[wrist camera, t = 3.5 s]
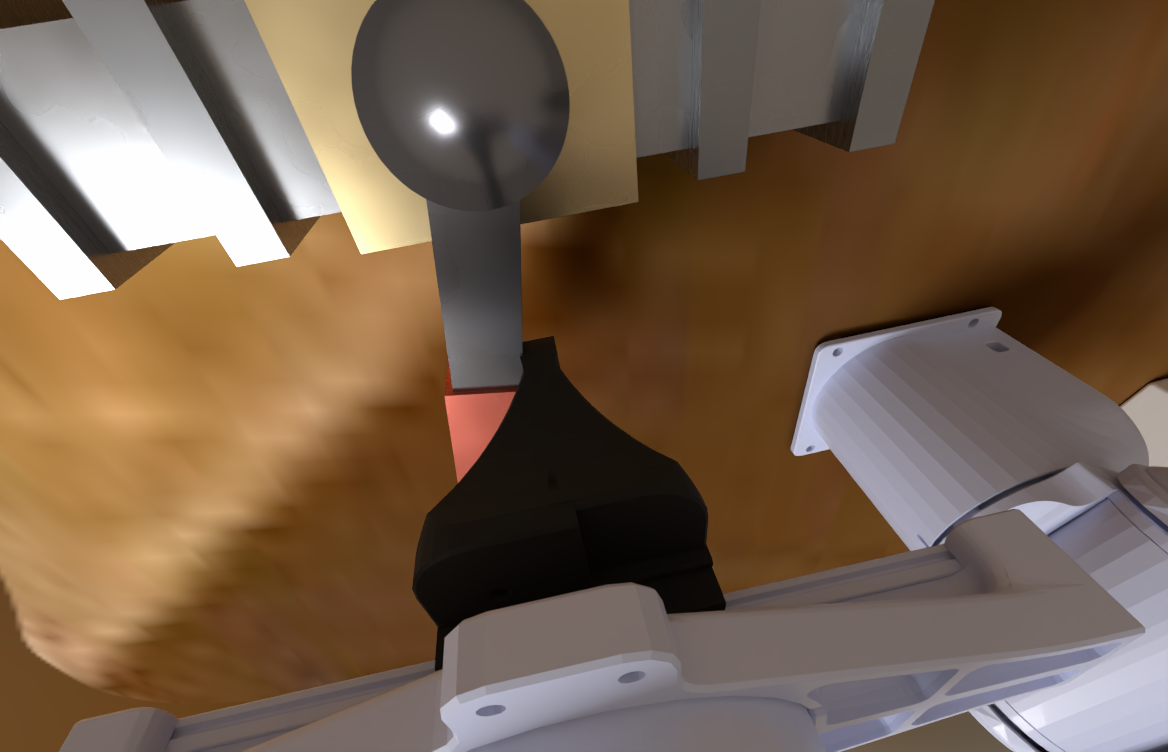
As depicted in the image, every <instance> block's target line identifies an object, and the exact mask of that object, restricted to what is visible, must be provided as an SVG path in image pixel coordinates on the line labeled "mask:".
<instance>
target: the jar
mask: <svg viewBox="0 0 1168 752" xmlns="http://www.w3.org/2000/svg"><path fill="white" fill-rule="evenodd" d="M1119 407H1120V408H1121V409H1123V410H1124V411H1125V412H1126V414H1127V415H1128V416H1129V417H1130V418H1131V419H1132V421H1133V422H1134V423H1135V425H1136V426H1137V428H1138V429H1139V431H1140V433H1141V435H1142V437H1143V438H1144V441H1145V443H1146V445H1147V449H1148V453H1149V466H1158V467H1168V378H1166V379H1162V380H1159V381H1155V382H1151V383H1149V384H1147V385H1146V386H1144V387H1143V388H1142V389H1141V390H1139V391H1138V392H1137V393H1135V394H1134V395H1133V396H1132V397H1130V398H1129V399H1128V400H1126V401H1125V402H1124V403H1123V404H1121V405H1120V406H1119Z"/></svg>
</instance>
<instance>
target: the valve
mask: <svg viewBox="0 0 1168 752" xmlns="http://www.w3.org/2000/svg"><path fill="white" fill-rule="evenodd" d="M375 1H376V0H0V238H1V239H2V241H3V242H4V243H5V244H6V245H7V246H8V247H9V248H10V249H11V250H12V251H13V252H14V253H15V254H16V255H17V256H18V257H19V258H20V259H21V260H22V261H23V262H24V263H25V264H26V265H27V266H28V267H29V268H30V269H31V270H32V271H33V272H34V273H35V275H36V276H37V277H38V278H39V279H40V280H41V281H42V282H43V283H44V284H45V285H46V286H47V287H48V288H49V289H50V290H51V291H52V292H53V293H54V294H55V295H56V296H57V297H58V298H59V299H60V300H61V299H67V298H72V297H77V296H83V295H88V294H93V293H99V292H104V291H109V290H115V289H116V288H118V287H119V286H120V285H121V284H123V283H124V282H125V281H127V280H128V279H129V278H130V277H132V276H133V275H134V274H136V273H137V272H138V271H139V270H141V269H142V268H143V267H145V266H146V265H147V264H148V263H150V262H151V261H152V260H153V259H155V258H156V257H157V256H159V255H160V254H161V253H162V252H164V251H165V250H166V249H168V248H169V247H170V246H171V245H173V244H174V243H175V242H179V241H184V240H190V239H195V238H200V237H206V236H211V235H216V236H217V237H218V239H219V240H220V242H221V243H222V245H223V246H224V248H225V250H226V251H227V253H228V254H229V256H230V257H231V259H232V260H233V262H234V263H235V265H236V266H237V267H238V266H243V265H248V264H254V263H259V262H264V261H270V260H275V259H280V258H286V257H290V256H291V254H292V253H293V252H294V250H295V249H296V248H297V246H298V245H299V244H300V242H301V241H302V240H303V238H304V237H305V236H306V234H307V233H308V232H309V230H310V229H311V228H312V226H313V225H314V224H315V222H316V221H317V220H318V218H319V217H320V216H321V215H326V214H332V213H337V212H342V213H343V216H344V218H345V220H346V222H347V224H348V227H349V229H350V231H351V233H352V235H353V237H354V240H355V242H356V244H357V246H358V248H359V250H360V253H361V254H365V253H370V252H376V251H381V250H386V249H392V248H397V247H402V246H407V245H413V244H418V243H423V242H429V241H432V238H431V231H430V223H429V216H428V209H427V202H426V199H425V198H423V197H421V196H420V195H418V194H417V193H415V192H413V191H412V190H411V189H409V188H408V187H407V186H405V185H404V184H403V183H402V182H400V181H399V180H398V179H397V178H396V177H395V176H394V175H393V174H392V173H391V172H390V171H389V170H388V168H387V167H386V166H385V165H384V164H383V162H382V161H381V160H380V158H379V157H378V155H377V154H376V152H375V151H374V149H373V148H372V146H371V144H370V143H369V141H368V139H367V137H366V135H365V133H364V130H363V128H362V125H361V123H360V120H359V118H358V114H357V110H356V107H355V103H354V97H353V91H352V79H351V65H352V55H353V49H354V45H355V41H356V37H357V33H358V31H359V28H360V26H361V23H362V21H363V19H364V17H365V15H366V14H367V12H368V10H369V9H370V7H371V5H372V4H373V3H374V2H375ZM524 1H525V2H526V3H527V4H528V5H529V6H530V7H531V8H532V9H533V10H534V12H535V13H536V14H537V15H538V16H539V18H540V19H541V20H542V22H543V23H544V25H545V26H546V28H547V29H548V31H549V32H550V34H551V36H552V38H553V40H554V42H555V44H556V46H557V48H558V50H559V53H560V56H561V59H562V61H563V64H564V68H565V72H566V76H567V81H568V88H569V99H570V113H569V123H568V129H567V134H566V138H565V142H564V145H563V148H562V150H561V153H560V155H559V157H558V159H557V161H556V163H555V165H554V167H553V168H552V170H551V171H550V173H549V174H548V176H547V177H546V178H545V179H544V180H543V181H542V183H541V184H540V185H539V186H538V187H537V188H535V189H534V190H533V191H532V192H531V193H530V194H528V195H527V196H525V197H524V198H522V199H521V200H520V224H524V223H529V222H535V221H540V220H545V219H551V218H556V217H561V216H567V215H572V214H577V213H583V212H588V211H593V210H598V209H604V208H609V207H614V206H620V205H625V204H630V203H636V202H638V183H637V162H636V158H638V157H643V156H649V155H654V154H660V153H664V154H666V155H667V156H668V157H669V158H671V159H672V160H673V161H674V162H676V163H677V164H678V165H679V166H681V167H682V168H683V169H684V170H686V171H687V172H688V173H689V174H690V175H692V176H693V177H694V178H695V179H697V180H702V179H708V178H713V177H718V176H724V175H729V174H734V173H740V172H745V166H746V156H747V145H748V137H753V136H758V135H764V134H769V133H775V132H780V131H786V130H791V129H793V130H795V131H798V132H800V133H803V134H805V135H808V136H810V137H813V138H815V139H818V140H820V141H823V142H825V143H828V144H830V145H833V146H835V147H838V148H840V149H843V150H845V151H848V152H852V151H857V150H863V149H868V148H873V147H879V146H884V145H889V144H895V140H896V137H897V133H898V130H899V126H900V123H901V119H902V115H903V112H904V108H905V105H906V101H907V98H908V94H909V91H910V87H911V83H912V80H913V76H914V73H915V69H916V66H917V62H918V59H919V55H920V51H921V48H922V44H923V41H924V37H925V34H926V30H927V27H928V23H929V19H930V16H931V12H932V9H933V5H934V2H935V0H524Z"/></svg>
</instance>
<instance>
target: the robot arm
mask: <svg viewBox="0 0 1168 752" xmlns="http://www.w3.org/2000/svg"><path fill="white" fill-rule="evenodd" d="M1001 315H1002V312H1001V311H1000V310H999V309H997V308H995V307H988V308H983V309H979V310H974V311H969V312H964V313H960V314H955V315H950V316H945V317H941V318H936V319H931V320H926V321H922V322H917V323H912V324H908V325H903V326H898V327H893V328H889V329H884V330H879V331H874V332H870V333H865V334H860V335H855V336H851V337H846V338H841V339H837V340H832V341H827V342H824V343H821V344H820V345H818V347H817V348H816V349H815V351H814V355H813V359H812V363H811V367H810V371H809V375H808V379H807V383H806V388H805V392H804V396H803V400H802V404H801V408H800V412H799V416H798V420H797V424H796V429H795V433H794V437H793V441H792V445H791V451H792V452H793V454H794V455H796V456H801V455H806V454H810V453H814V452H819V451H823V450H828V449H831V451H832V452H833V453H834V455H835V456H836V457H837V458H838V460H839V461H840V462H841V463H842V465H843V466H844V467H845V468H846V470H847V471H848V472H849V474H850V475H851V476H852V477H853V479H854V480H855V481H856V482H857V484H858V485H859V486H860V487H861V489H862V490H863V491H864V493H865V494H866V495H867V496H868V498H869V499H870V500H871V501H872V503H873V504H874V505H875V506H876V508H877V509H878V510H879V512H880V513H881V514H882V515H883V517H884V518H885V519H886V520H887V522H888V523H889V524H890V525H891V527H892V528H893V529H894V531H895V532H896V533H897V534H898V536H899V537H900V538H901V539H902V541H903V542H904V543H905V544H906V546H907V547H908V548H909V549H910V551H909V552H905V553H901V554H896V555H892V556H888V557H883V558H879V559H875V560H870V561H866V562H861V563H857V564H853V565H848V566H844V567H840V568H835V569H831V570H826V571H822V572H818V573H813V574H809V575H805V576H800V577H796V578H792V579H787V580H783V581H778V582H774V583H770V584H765V585H761V586H757V587H752V588H748V589H743V590H739V591H735V592H730V593H726V594H723V593H722V591H721V588H720V586H719V583H718V581H717V579H716V576H715V574H714V571H713V569H712V566H713V561H712V557H711V555H710V552H709V550H708V548H707V545H706V538H707V527H708V512H707V507H706V505H705V503H704V501H703V499H702V497H701V495H700V493H699V492H698V490H697V488H696V487H695V485H694V484H693V482H692V481H691V479H690V478H689V476H688V475H687V474H686V472H685V471H684V470H683V468H682V467H681V466H680V465H679V463H678V462H677V461H675V460H673V459H671V458H669V457H667V456H665V455H663V454H660V453H658V452H656V451H654V450H652V449H651V448H649V447H647V446H646V445H644V444H642V443H641V442H639V441H637V440H636V439H634V438H633V437H631V436H630V435H628V434H627V433H626V432H624V431H623V430H621V429H620V428H619V427H617V426H616V425H614V424H613V423H612V422H610V421H609V420H608V419H607V418H606V417H604V416H603V415H602V414H601V413H600V412H599V411H598V410H596V409H595V408H594V407H593V406H592V405H591V404H590V403H589V402H588V401H587V400H586V399H585V398H584V397H583V396H582V395H581V394H580V393H579V391H578V390H577V389H576V388H575V387H574V386H573V385H572V383H571V382H570V381H569V380H568V378H567V377H566V376H565V374H564V373H563V372H562V370H561V369H560V365H559V360H558V355H557V350H556V345H555V340H554V336H551V337H546V338H541V339H536V340H531V341H526V342H522V348H523V356H520V359H521V363H522V367H523V373H522V376H521V379H520V382H519V385H518V388H517V390H516V393H515V395H514V397H513V399H512V402H511V404H510V406H509V409H508V411H507V413H506V415H505V417H504V418H503V420H502V422H501V424H500V426H499V427H498V429H497V431H496V433H495V434H494V436H493V437H492V439H491V441H490V442H489V444H488V445H487V447H486V448H485V450H484V451H483V453H482V454H481V455H480V457H479V458H478V459H477V461H476V462H475V463H474V465H473V466H472V467H471V468H470V469H469V471H468V472H467V473H466V474H465V476H464V477H463V478H462V479H461V480H460V482H459V483H458V484H457V485H456V486H455V487H454V488H453V489H452V490H451V491H450V492H449V493H448V494H447V495H446V496H445V497H444V498H443V499H442V500H441V501H440V502H439V503H438V504H437V505H436V506H435V507H434V508H433V509H432V510H431V511H430V512H429V513H428V514H427V516H426V519H425V522H424V525H423V528H422V532H421V535H420V539H419V543H418V547H417V552H416V559H415V568H414V577H413V587H412V590H413V592H414V594H415V596H416V599H417V600H418V601H419V603H420V604H421V605H422V607H423V608H424V609H425V611H426V612H427V613H428V614H429V616H430V617H431V618H432V620H433V621H434V622H435V624H436V625H437V626H438V631H437V644H436V657H435V660H433V661H429V662H425V663H420V664H416V665H411V666H407V667H403V668H398V669H394V670H390V671H385V672H381V673H376V674H372V675H368V676H363V677H359V678H355V679H350V680H346V681H342V682H337V683H333V684H328V685H324V686H320V687H315V688H311V689H307V690H302V691H298V692H293V693H289V694H285V695H280V696H276V697H272V698H267V699H263V700H259V701H254V702H250V703H245V704H241V705H237V706H233V707H228V708H224V709H219V710H215V711H210V712H206V713H202V714H197V715H193V716H189V717H184V718H180V719H177V718H176V717H175V716H174V715H173V714H171V713H169V712H167V711H165V710H163V709H159V708H155V707H139V708H132V709H128V710H123V711H119V712H114V713H110V714H105V715H101V716H97V717H92V718H88V719H83V720H81V721H79V722H78V723H76V724H75V725H74V726H73V728H72V730H71V732H70V733H69V735H68V737H67V739H66V740H65V742H64V744H63V746H62V747H61V749H60V751H59V752H841V751H844V750H847V749H851V748H854V747H857V746H860V745H863V744H866V743H869V742H873V741H876V740H879V739H882V738H885V737H888V736H891V735H894V734H898V733H901V732H903V731H907V730H910V729H913V728H916V727H919V726H922V725H926V724H929V723H932V722H935V721H938V720H941V719H944V718H947V717H951V716H954V715H957V714H960V713H964V712H967V711H969V712H970V713H971V714H972V715H973V716H974V717H975V718H976V719H977V720H978V721H979V722H980V723H981V724H982V725H983V726H984V727H985V728H986V729H987V730H988V731H989V732H990V733H991V734H992V735H993V736H994V737H995V738H997V739H998V740H999V741H1000V742H1001V743H1003V744H1004V745H1005V746H1007V747H1008V748H1009V749H1011V750H1012V751H1013V752H1168V467H1158V466H1149V453H1148V449H1147V445H1146V443H1145V441H1144V438H1143V437H1142V435H1141V433H1140V431H1139V429H1138V428H1137V426H1136V425H1135V423H1134V422H1133V421H1132V419H1131V418H1130V417H1129V416H1128V415H1127V414H1126V412H1125V411H1124V410H1123V409H1121V408H1120V407H1119V406H1118V405H1117V404H1116V403H1115V402H1113V401H1112V400H1111V399H1109V398H1108V397H1106V396H1105V395H1103V394H1102V393H1100V392H1099V391H1097V390H1095V389H1094V388H1092V387H1091V386H1089V385H1087V384H1086V383H1084V382H1083V381H1081V380H1079V379H1078V378H1076V377H1075V376H1073V375H1071V374H1070V373H1068V372H1067V371H1065V370H1063V369H1062V368H1060V367H1059V366H1057V365H1055V364H1054V363H1052V362H1051V361H1049V360H1047V359H1046V358H1044V357H1043V356H1041V355H1039V354H1038V353H1036V352H1035V351H1033V350H1031V349H1030V348H1028V347H1027V346H1025V345H1023V344H1022V343H1020V342H1019V341H1017V340H1015V339H1014V338H1012V337H1011V336H1009V335H1007V334H1006V333H1004V332H1003V331H1001V330H999V329H998V328H996V326H997V324H998V322H999V320H1000V318H1001ZM834 350H835V351H834Z"/></svg>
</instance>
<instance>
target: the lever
mask: <svg viewBox="0 0 1168 752" xmlns="http://www.w3.org/2000/svg"><path fill="white" fill-rule="evenodd" d="M351 79H352V91H353V97H354V103H355V107H356V110H357V114H358V118H359V120H360V123H361V125H362V128H363V130H364V133H365V135H366V137H367V139H368V141H369V143H370V144H371V146H372V148H373V149H374V151H375V152H376V154H377V155H378V157H379V158H380V160H381V161H382V162H383V164H384V165H385V166H386V167H387V168H388V170H389V171H390V172H391V173H392V174H393V175H394V176H395V177H396V178H397V179H398V180H399V181H400V182H402V183H403V184H404V185H405V186H407V187H408V188H409V189H411V190H412V191H413V192H415V193H417V194H418V195H420V196H421V197H423V198H425V199H426V202H427V209H428V216H429V223H430V231H431V238H432V245H433V252H434V259H435V267H436V274H437V281H438V288H439V295H440V302H441V310H442V317H443V324H444V331H445V338H446V345H447V353H448V360H449V361H448V363H447V374H446V386H445V402H446V408H447V415H448V421H449V428H450V434H451V441H452V447H453V454H454V460H455V467H456V473H457V479H458V483H459V482H460V480H461V479H462V478H463V477H464V476H465V474H466V473H467V472H468V471H469V469H470V468H471V467H472V466H473V465H474V463H475V462H476V461H477V459H478V458H479V457H480V455H481V454H482V453H483V451H484V450H485V448H486V447H487V445H488V444H489V442H490V441H491V439H492V437H493V436H494V434H495V433H496V431H497V429H498V427H499V426H500V424H501V422H502V420H503V418H504V417H505V415H506V413H507V411H508V409H509V406H510V404H511V402H512V399H513V397H514V395H515V393H516V390H517V388H518V385H519V382H520V379H521V376H522V373H523V367H522V363H521V359H520V356H523V348H522V291H521V235H520V200H521V199H522V198H524V197H525V196H527V195H528V194H530V193H531V192H532V191H533V190H534V189H535V188H537V187H538V186H539V185H540V184H541V183H542V181H543V180H544V179H545V178H546V177H547V176H548V174H549V173H550V171H551V170H552V168H553V167H554V165H555V163H556V161H557V159H558V157H559V155H560V153H561V150H562V148H563V145H564V142H565V138H566V134H567V129H568V123H569V113H570V99H569V88H568V81H567V76H566V72H565V68H564V64H563V61H562V59H561V56H560V53H559V50H558V48H557V46H556V44H555V42H554V40H553V38H552V36H551V34H550V32H549V31H548V29H547V28H546V26H545V25H544V23H543V22H542V20H541V19H540V18H539V16H538V15H537V14H536V13H535V12H534V10H533V9H532V8H531V7H530V6H529V5H528V4H527V3H526V2H525V1H524V0H376V1H375V2H374V3H373V4H372V5H371V7H370V9H369V10H368V12H367V14H366V15H365V17H364V19H363V21H362V23H361V26H360V28H359V31H358V33H357V37H356V41H355V45H354V49H353V55H352V65H351Z"/></svg>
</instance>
